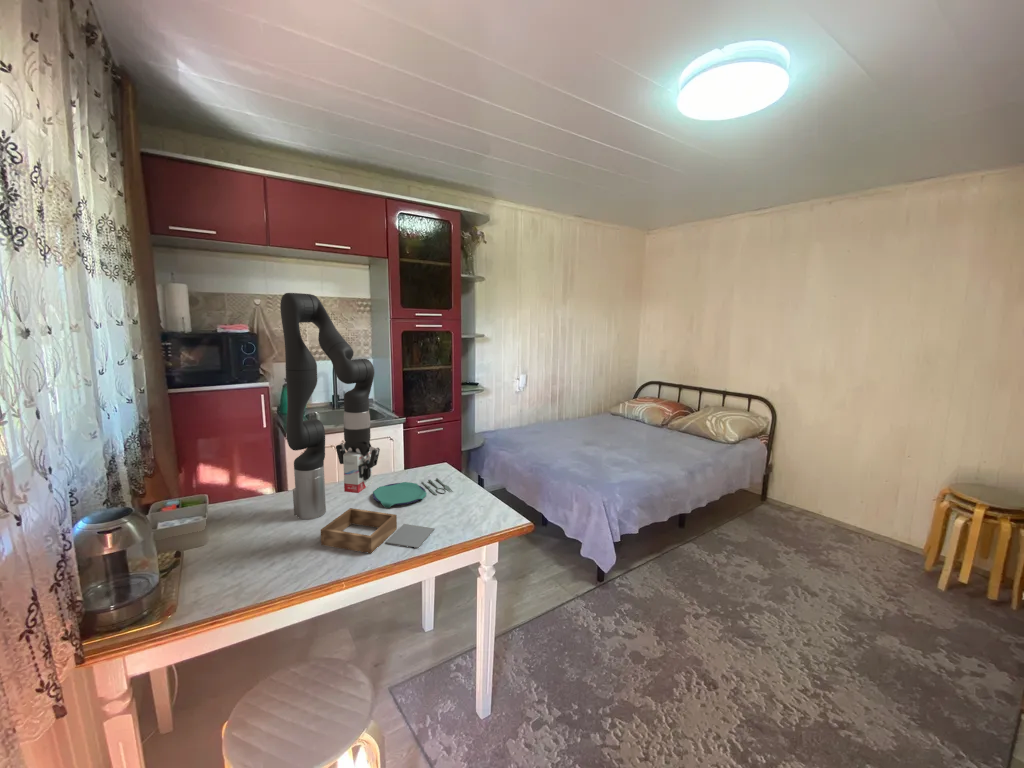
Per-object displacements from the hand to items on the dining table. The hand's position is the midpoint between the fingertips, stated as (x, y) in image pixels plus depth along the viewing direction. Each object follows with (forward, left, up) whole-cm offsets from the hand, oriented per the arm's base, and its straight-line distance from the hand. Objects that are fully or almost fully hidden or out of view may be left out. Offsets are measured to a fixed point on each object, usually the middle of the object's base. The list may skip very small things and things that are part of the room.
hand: (358, 478), depth 129 cm
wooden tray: (0, 0, -19) cm, 19 cm away
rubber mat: (+15, +4, -19) cm, 25 cm away
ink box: (0, 0, -3) cm, 3 cm away
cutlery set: (+1, +34, -20) cm, 40 cm away
